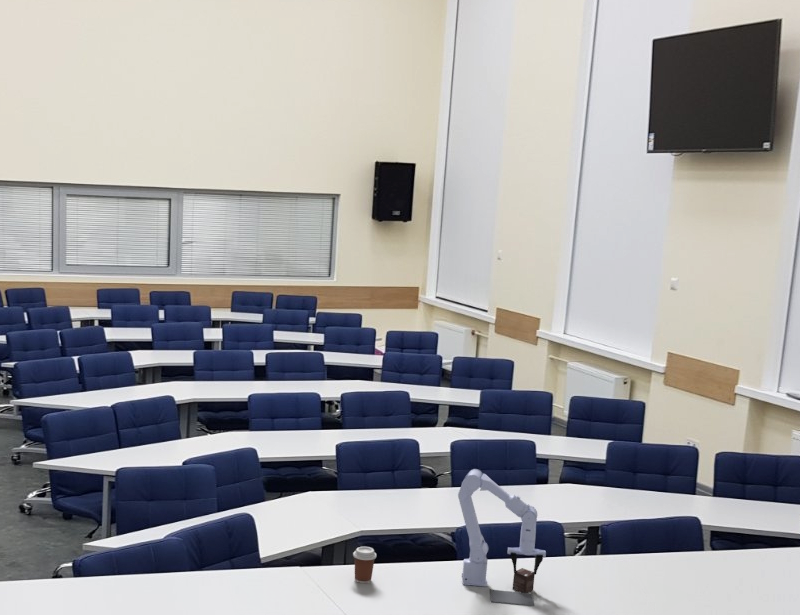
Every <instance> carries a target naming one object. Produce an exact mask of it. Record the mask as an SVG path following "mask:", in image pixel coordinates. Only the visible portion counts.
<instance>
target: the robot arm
mask: <svg viewBox="0 0 800 615" xmlns="http://www.w3.org/2000/svg"><path fill="white" fill-rule="evenodd" d="M479 488H480V490H479ZM478 490H479V491H488V492H490V494H493V495H494V496H495V497H497V498H498V499H499V500H501V501H503V503H504V504H505V508H507V509H508V510H509V512H511V513H513V514H514V515H515V516H517V517H518V518H520V520H521V527H520V528H521V529H520V536H519V537H520V539H519V547H507V555H509V556H510V560H511V562H512V566H513V574H514V573H516V571H517V560H518V557H517V556H518V555H523V556H534V568H533V572H534V574H535V575H537V572H538V569H539V567H540V565H541V563H542V562H543V559H544V558H545V557H546V555H547V552H546V550H544V549H538V548H535V546H536V545H535V544H536V534H537V520H538V519H537V518H538V511H537V509H536V508H535V507H534V506H532V505H530V504H527V503H526V502H524V501H523V500H522V499H521V496H519V495H517V496H516V495H515V494H509V493H508V492H507V491H505V490H504V489H503V487H501V486H499V485H498V484H497V483H496V482H495V481H494V480H492V479H491V478H490V477H489V476H488V475H487V474H486V473H483V472H482V471H481V469H477V468H473V469H471V470H470V471H469V472H468V473H467V474H466V475H465V477H464V478H463V481H461V486H460V488H459V491H458V493H457V497H458V500H459V505H460V509H461V512H462V516H463V520H464V524H465V528H466V531H467V535H468V539H469V540H468V541H469V542H468V543H469V557H468V558H464V559H463V564H462V573H461V580H462V581H461V582H462V585H464V586H465V585H467V586H477V587H484V588H485V587H488V584H487V583H488V582H487V570H488V558H487V553H488V552H489V545H488V543H487V542H486V541H485V538H484V536H483V534H482V531H481V529H480V525H479V521H478V517H477V513H476V510H475V509H476V508H475V506H474V502H473V501H474V500H473V499H472V496H473V494H474V493H475V492H476V491H478Z"/></svg>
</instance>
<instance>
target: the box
mask: <svg viewBox="0 0 800 615" xmlns="http://www.w3.org/2000/svg"><path fill="white" fill-rule="evenodd" d="M512 581H513V582H512V590H513V591H515V592H522V593H530V592H532V591H533V590H534V586H535V574H534V571H533V570H529V569H525V568H523V567H522V568H519V569H516V573H514V572H513V580H512Z"/></svg>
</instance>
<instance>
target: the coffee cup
mask: <svg viewBox="0 0 800 615" xmlns="http://www.w3.org/2000/svg"><path fill="white" fill-rule="evenodd" d="M352 556H353V558H354V581H355V582H357V583H360V584H368V583H371V581H372V576H373V570H374V564H375V559H376V558H377V553H376V552H375V549H374V548H373V547H370V546H360V547H357V548H356V549H355V550H354V552H352Z"/></svg>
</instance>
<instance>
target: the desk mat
mask: <svg viewBox="0 0 800 615" xmlns="http://www.w3.org/2000/svg"><path fill="white" fill-rule="evenodd" d="M489 594H490V602H491V603H499V604H507V605H508V604H509V605H515V606H516V605H518V606H528V607H535V601H534V597H533V594H532V593H530V592H528V593H522V592H519V591H512V590H511V591H510V590H499V589H489Z"/></svg>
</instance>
